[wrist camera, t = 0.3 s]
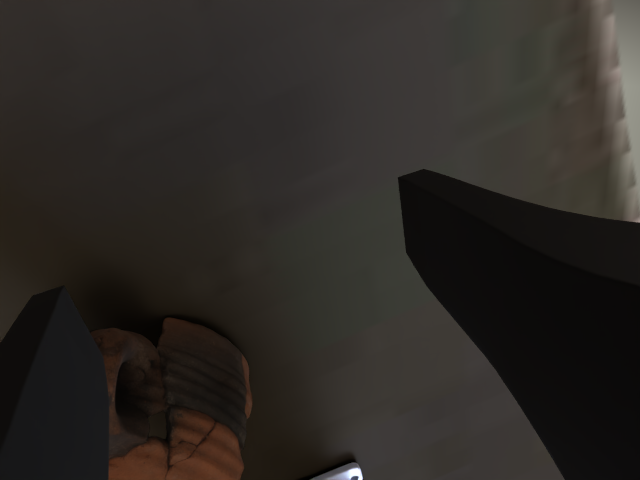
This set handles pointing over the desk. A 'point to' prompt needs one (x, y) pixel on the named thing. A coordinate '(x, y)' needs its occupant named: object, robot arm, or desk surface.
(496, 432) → the desk surface
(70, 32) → the desk surface
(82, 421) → the robot arm
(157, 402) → the pottery mug
